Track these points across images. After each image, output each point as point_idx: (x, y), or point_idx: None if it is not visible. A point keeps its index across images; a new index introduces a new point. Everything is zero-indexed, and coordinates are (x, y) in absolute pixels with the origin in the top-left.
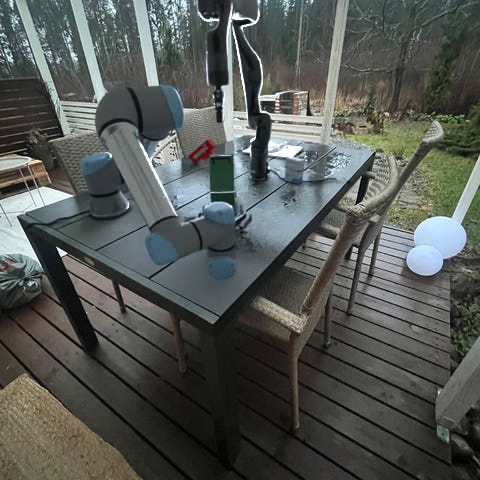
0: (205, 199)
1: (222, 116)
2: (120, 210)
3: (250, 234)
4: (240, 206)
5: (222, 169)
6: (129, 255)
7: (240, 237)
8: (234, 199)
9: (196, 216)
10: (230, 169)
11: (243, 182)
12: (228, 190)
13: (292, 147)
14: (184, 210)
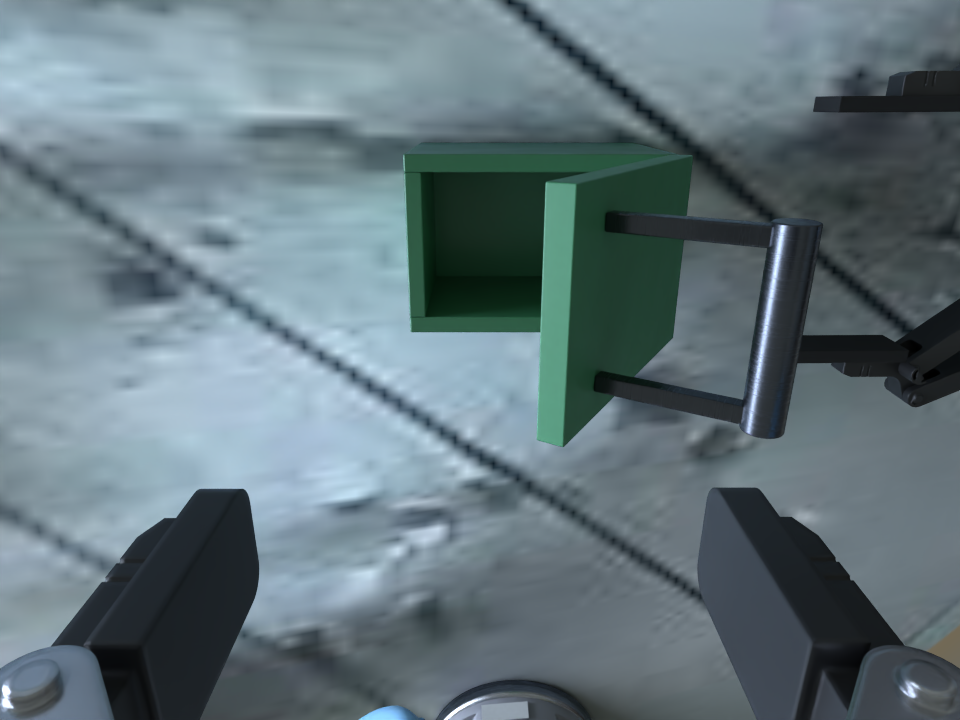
0: (383, 336)
1: (807, 558)
2: (566, 713)
3: (888, 50)
4: (870, 110)
5: (628, 279)
6: (912, 584)
7: (905, 115)
8: (662, 150)
9: (924, 387)
10: (635, 202)
11: (28, 48)
12: (687, 203)
13: None
14: (532, 439)
